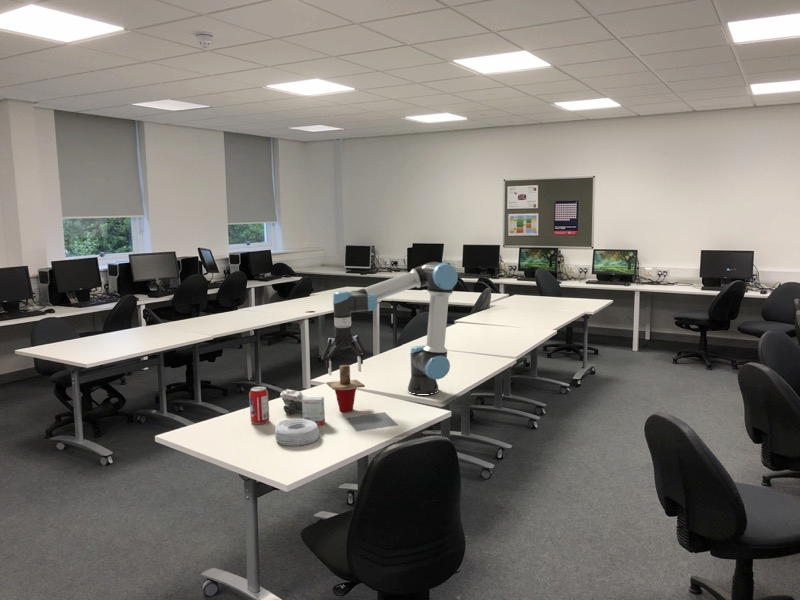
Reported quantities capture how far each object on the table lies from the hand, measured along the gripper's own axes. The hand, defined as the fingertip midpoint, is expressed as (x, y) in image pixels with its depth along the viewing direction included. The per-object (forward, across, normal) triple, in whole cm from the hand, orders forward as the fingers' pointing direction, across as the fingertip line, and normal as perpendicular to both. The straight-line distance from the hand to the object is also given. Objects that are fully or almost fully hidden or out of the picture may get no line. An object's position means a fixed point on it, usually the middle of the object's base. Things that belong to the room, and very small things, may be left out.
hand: (344, 373), depth 268 cm
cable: (+18, -26, -25) cm, 41 cm away
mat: (+18, +6, -19) cm, 27 cm away
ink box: (+18, -17, -12) cm, 27 cm away
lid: (+6, 0, 0) cm, 6 cm away
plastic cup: (+18, 0, 0) cm, 18 cm away
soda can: (+18, -38, +1) cm, 42 cm away
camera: (+18, -22, +8) cm, 30 cm away
